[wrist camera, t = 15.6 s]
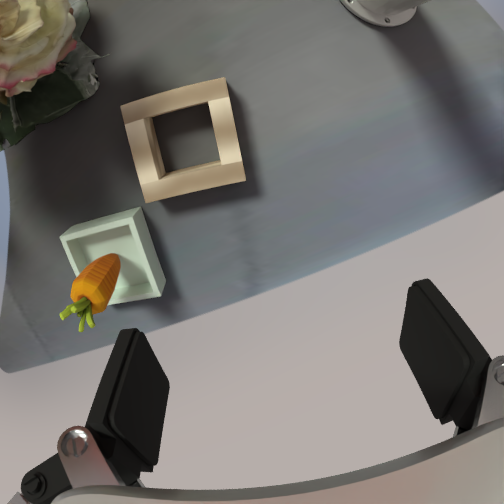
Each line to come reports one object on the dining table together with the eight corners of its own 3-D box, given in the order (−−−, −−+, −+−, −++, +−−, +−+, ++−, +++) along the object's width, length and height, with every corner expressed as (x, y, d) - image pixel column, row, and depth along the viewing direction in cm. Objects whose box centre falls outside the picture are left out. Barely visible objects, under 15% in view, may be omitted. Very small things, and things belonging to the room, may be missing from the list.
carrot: (139, 256, 41) (101, 326, 28) (119, 277, 42) (80, 346, 29) (113, 232, 39) (64, 293, 26) (94, 254, 40) (46, 317, 27)
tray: (71, 225, 39) (59, 236, 36) (141, 206, 39) (132, 216, 35) (100, 292, 44) (91, 307, 41) (166, 280, 44) (161, 296, 40)
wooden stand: (131, 105, 33) (120, 105, 29) (225, 80, 33) (225, 77, 29) (153, 194, 38) (145, 203, 35) (244, 173, 38) (246, 180, 34)
